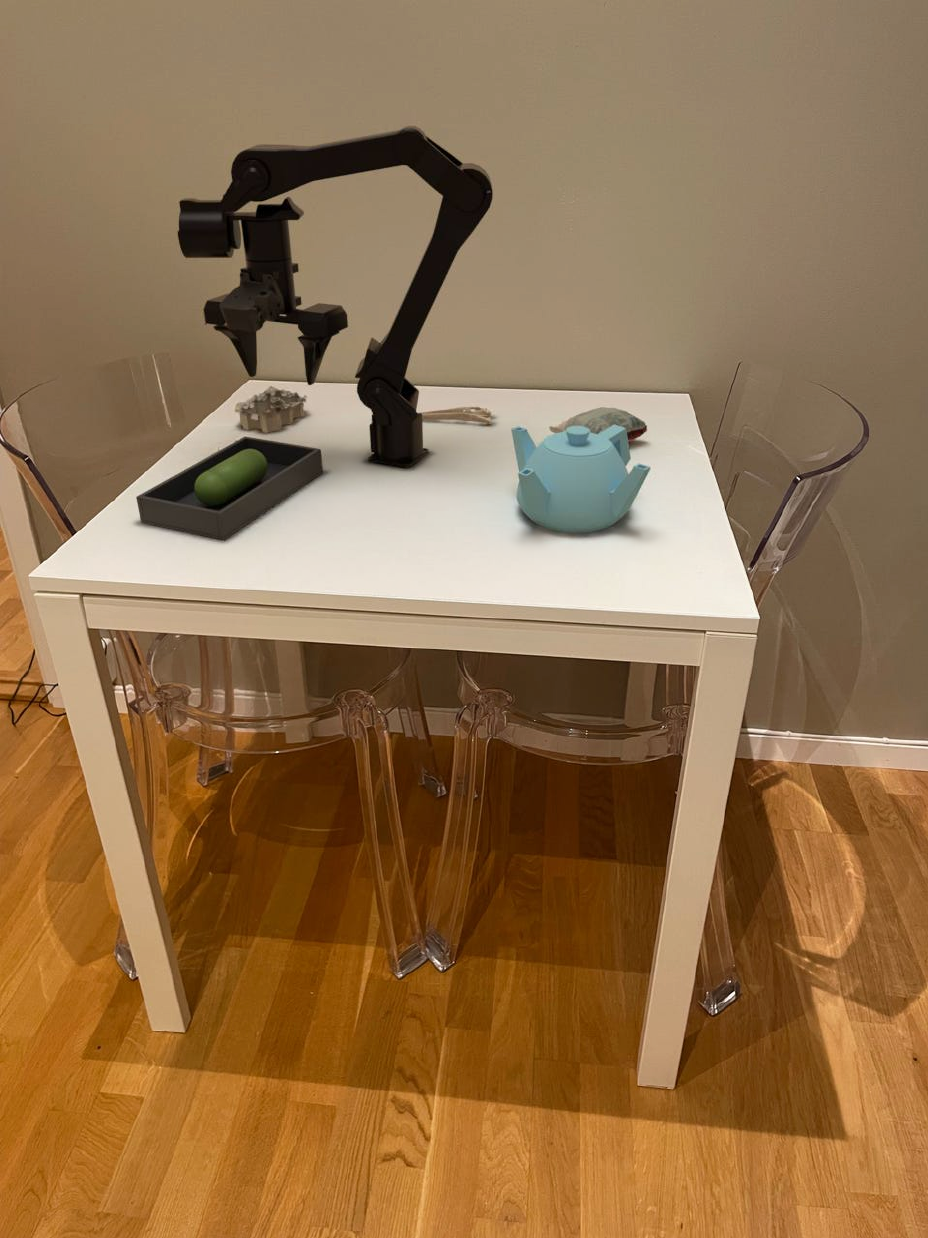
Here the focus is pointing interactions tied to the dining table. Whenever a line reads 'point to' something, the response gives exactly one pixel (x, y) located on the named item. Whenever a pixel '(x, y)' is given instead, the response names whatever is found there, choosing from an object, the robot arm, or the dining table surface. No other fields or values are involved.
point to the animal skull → (459, 414)
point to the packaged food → (605, 422)
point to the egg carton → (270, 409)
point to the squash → (230, 477)
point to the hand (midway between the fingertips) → (281, 380)
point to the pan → (186, 513)
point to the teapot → (576, 478)
